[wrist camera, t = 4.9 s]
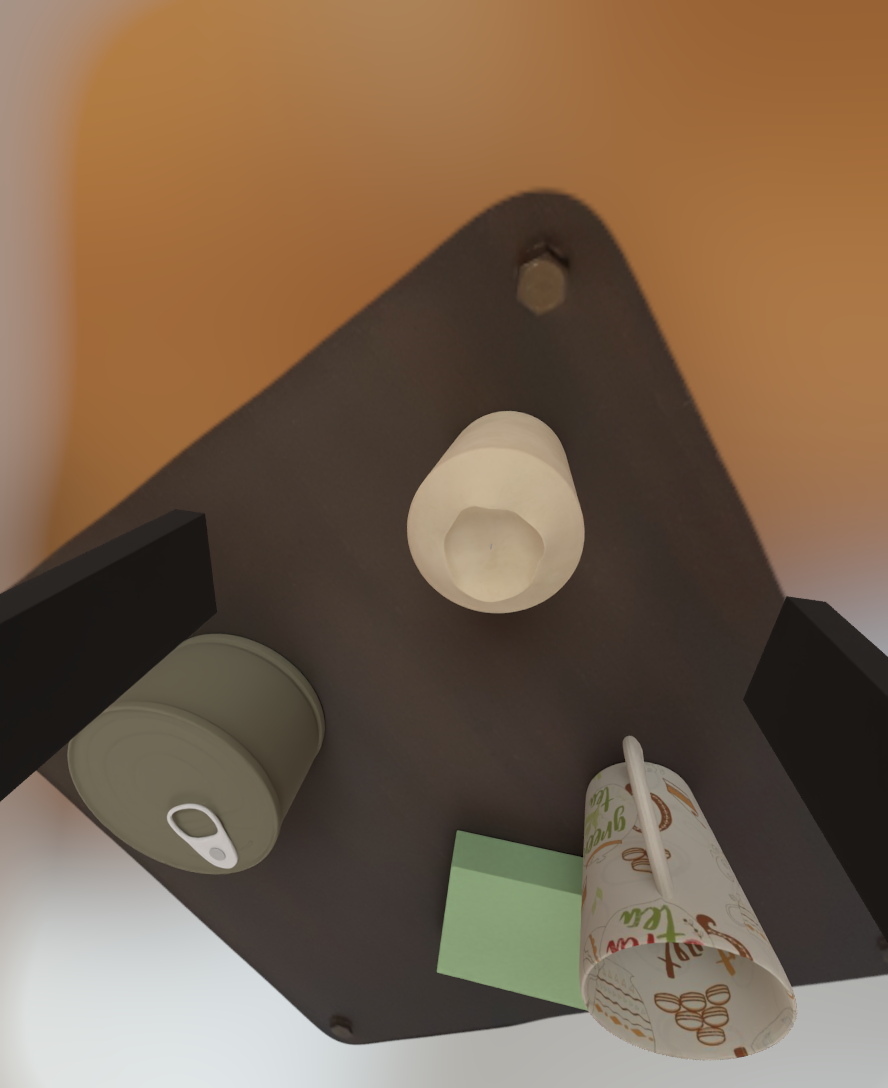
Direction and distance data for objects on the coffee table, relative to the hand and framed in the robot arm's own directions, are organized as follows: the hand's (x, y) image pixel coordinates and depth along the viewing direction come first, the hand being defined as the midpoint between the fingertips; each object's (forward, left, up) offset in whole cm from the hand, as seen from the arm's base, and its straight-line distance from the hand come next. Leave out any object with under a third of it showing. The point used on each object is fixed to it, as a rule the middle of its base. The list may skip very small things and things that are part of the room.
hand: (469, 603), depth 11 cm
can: (+15, +18, -13) cm, 27 cm away
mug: (-10, +17, -13) cm, 23 cm away
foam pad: (-6, +31, -13) cm, 34 cm away
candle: (0, 0, -13) cm, 13 cm away
